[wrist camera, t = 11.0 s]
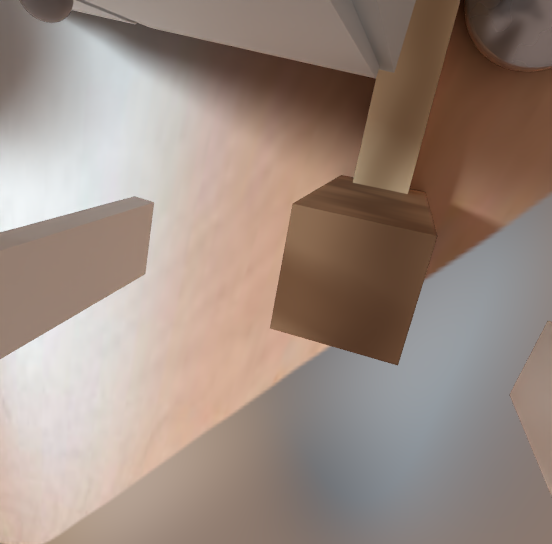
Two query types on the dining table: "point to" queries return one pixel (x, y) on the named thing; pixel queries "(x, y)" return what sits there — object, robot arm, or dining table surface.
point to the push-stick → (370, 215)
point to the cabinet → (267, 26)
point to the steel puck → (512, 32)
